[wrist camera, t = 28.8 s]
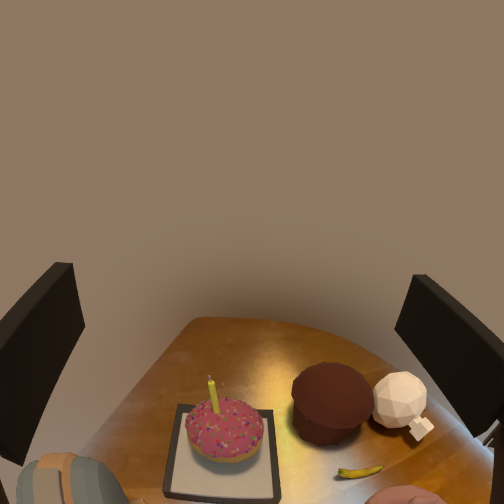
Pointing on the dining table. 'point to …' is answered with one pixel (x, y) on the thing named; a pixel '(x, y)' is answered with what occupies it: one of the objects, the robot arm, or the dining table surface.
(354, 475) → the fruit
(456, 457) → the dining table surface
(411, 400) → the white geodesic ball
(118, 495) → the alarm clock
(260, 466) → the scale
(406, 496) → the mortar and pestle
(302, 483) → the dining table surface
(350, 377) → the muffin
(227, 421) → the cupcake
